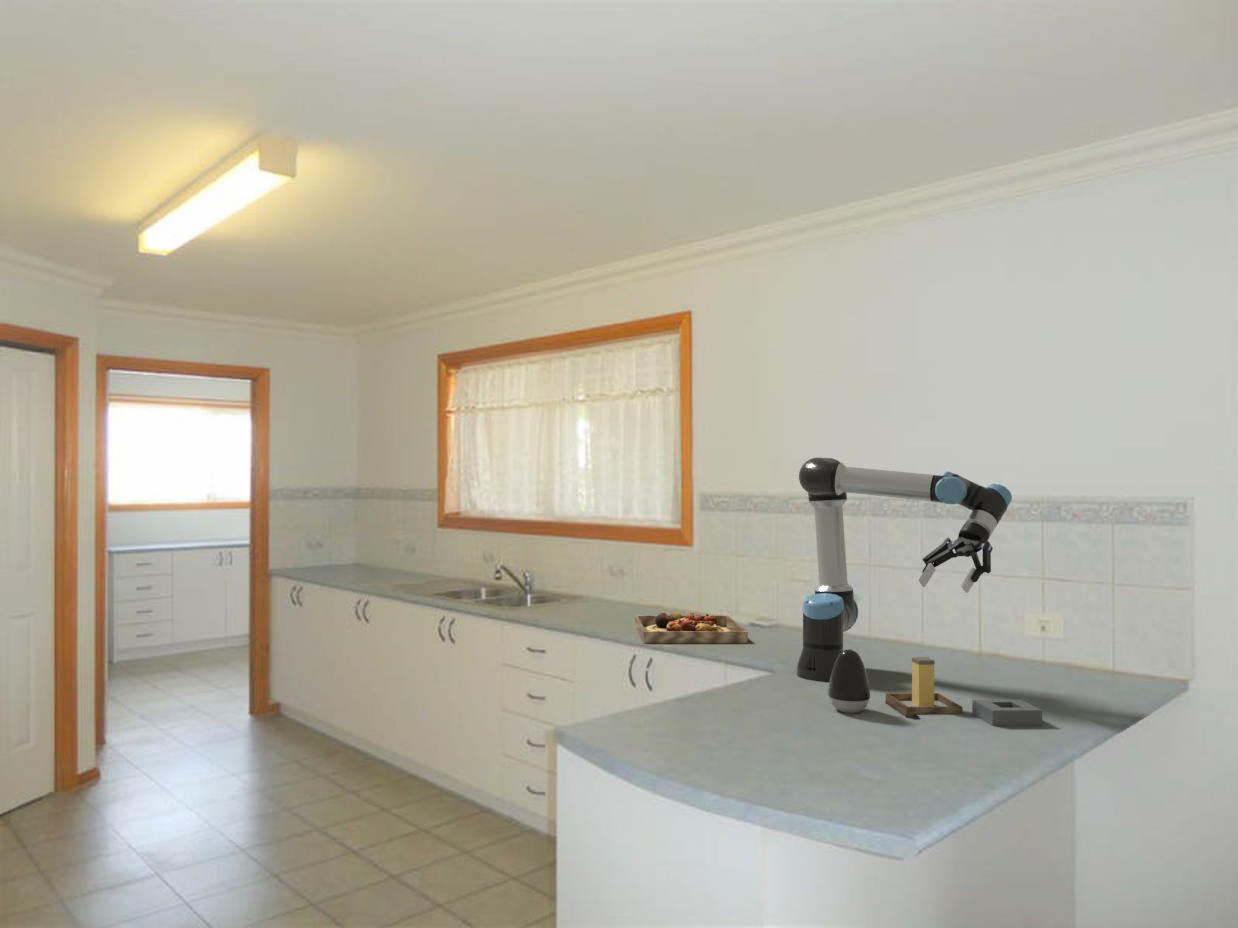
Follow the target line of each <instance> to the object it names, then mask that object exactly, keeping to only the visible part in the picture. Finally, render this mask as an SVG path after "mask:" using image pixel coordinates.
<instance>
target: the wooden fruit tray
mask: <svg viewBox="0 0 1238 928" xmlns="http://www.w3.org/2000/svg"><path fill="white" fill-rule="evenodd" d="M658 615H659V614H657V615H655V614H654V615H652V614H651V615H649V614H646V615H640V614H638V615H635V616H634V627H635V629H636V630H637V633H638V635H639V637H640V639H641V642H642V643H643V644H748V643H749V633H748V632H749V631H748V630H746V628H744V627H743V626H742V625H741V624H740V623H738V622H737V621H736V620H734V619H733V618H732V617H731V616H730V615H713V616H714V617H715V618H716V619H717V623H716V625H717V626H719V627H727V629H729V630H730V631H646V630H645V629H646V627H648V626H651V625H656V623H655V619H656V617H657V616H658ZM667 615H668V616H669V615H670V614H667ZM681 615H682V614H681ZM687 615H688V614H687ZM687 615H685V614H684V615H682V616H683V618H686V616H687ZM699 615H700V614H699ZM708 615H709V614H708ZM703 616H705V617H706V614H705V615H700V617H703ZM709 616H711V615H709ZM702 621H703V620H702Z"/></svg>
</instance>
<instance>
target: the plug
mask: <svg viewBox="0 0 1238 928" xmlns="http://www.w3.org/2000/svg"><path fill="white" fill-rule="evenodd" d="M935 666H936V665H935V660H934V659H932V658H930V657H928V656H925V657H924V656H923V657H922V656H921V657H919V656H918V657H917V656H914V657H913V656H912V657H911V693H912V700H911V705H913V706H914V707H928V706H935V700H934V693H935Z"/></svg>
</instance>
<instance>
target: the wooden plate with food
mask: <svg viewBox="0 0 1238 928" xmlns="http://www.w3.org/2000/svg"><path fill="white" fill-rule="evenodd" d="M657 615H658V616H657V617H656V619H655V623H656V625H651V626H645V630H646V631H731V630H730V629H729V628H728V627H727V628H726V627H725V626H717V625H716V623H717V619H716V618H715V617H714V616H715V615H710V616H709V614H708V613H706V614H705V615H706V617H705V616H703V617H700V614H694V613H693V612H690V613H688V614H687V616H686V618H683V616H682V614H681V613H680V612H678V611H676V610H674V612H672V613H670V614H667V613H666V612H665V611H661V612H660V613H659V614H657ZM668 615H669V616H668ZM702 620H703V621H702Z"/></svg>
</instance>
